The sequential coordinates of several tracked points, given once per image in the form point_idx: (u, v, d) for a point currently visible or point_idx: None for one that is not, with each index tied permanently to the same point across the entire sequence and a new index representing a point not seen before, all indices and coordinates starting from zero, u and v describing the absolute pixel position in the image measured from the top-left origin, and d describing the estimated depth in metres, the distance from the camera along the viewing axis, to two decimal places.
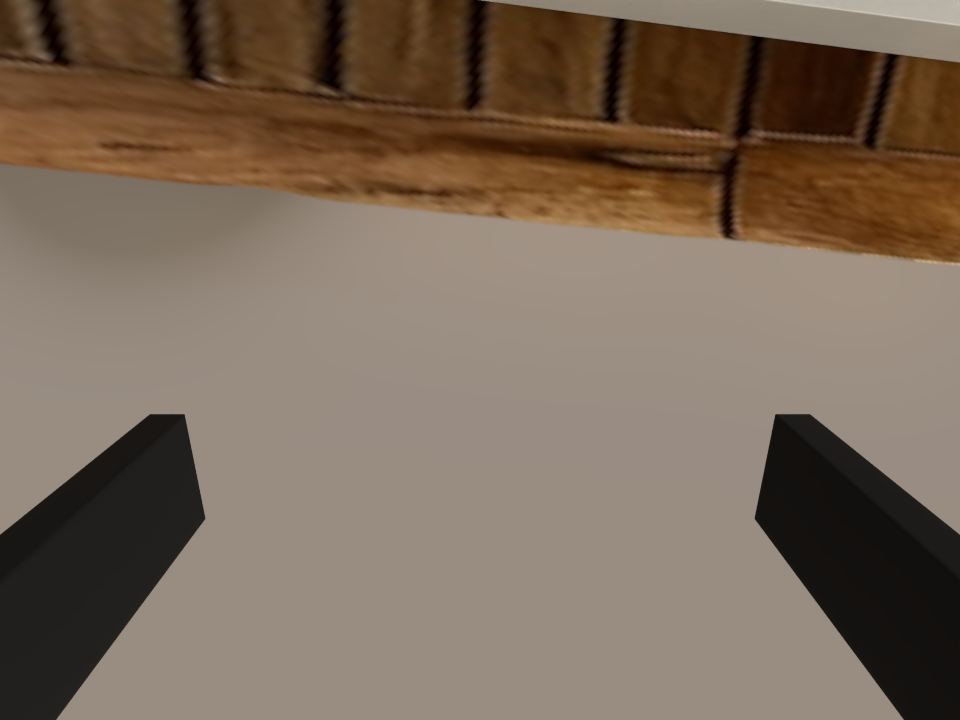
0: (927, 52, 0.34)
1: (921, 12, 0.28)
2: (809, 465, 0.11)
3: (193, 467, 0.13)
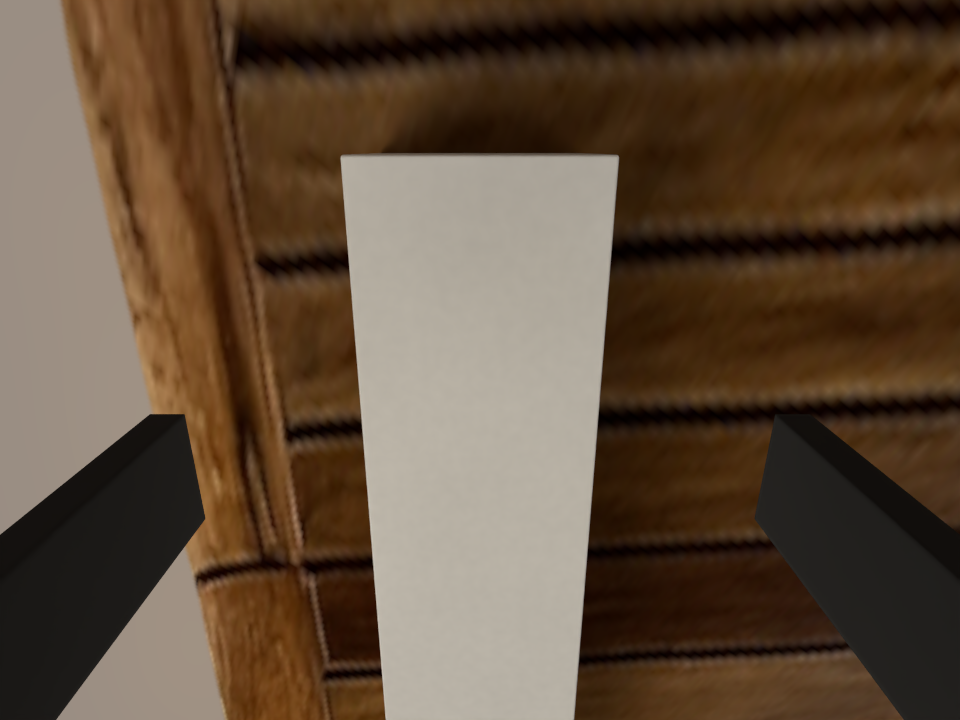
0: None
1: None
2: (808, 464, 0.11)
3: (192, 467, 0.13)
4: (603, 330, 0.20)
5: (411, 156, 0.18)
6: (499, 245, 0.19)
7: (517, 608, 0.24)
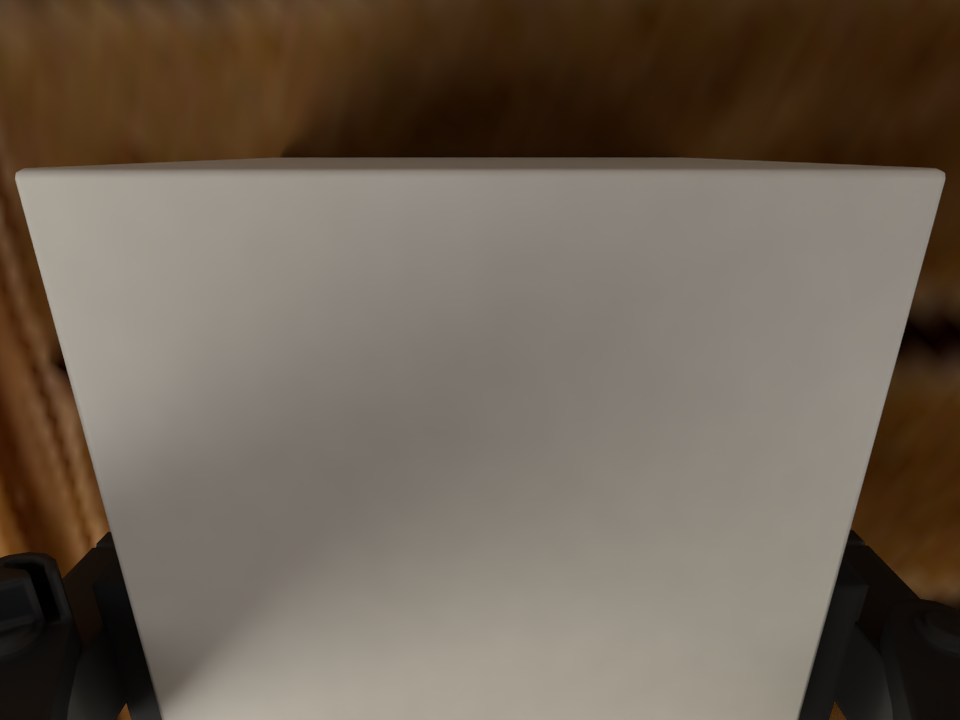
0: None
1: None
2: None
3: None
4: (816, 642, 0.07)
5: (251, 174, 0.05)
6: (540, 438, 0.06)
7: None
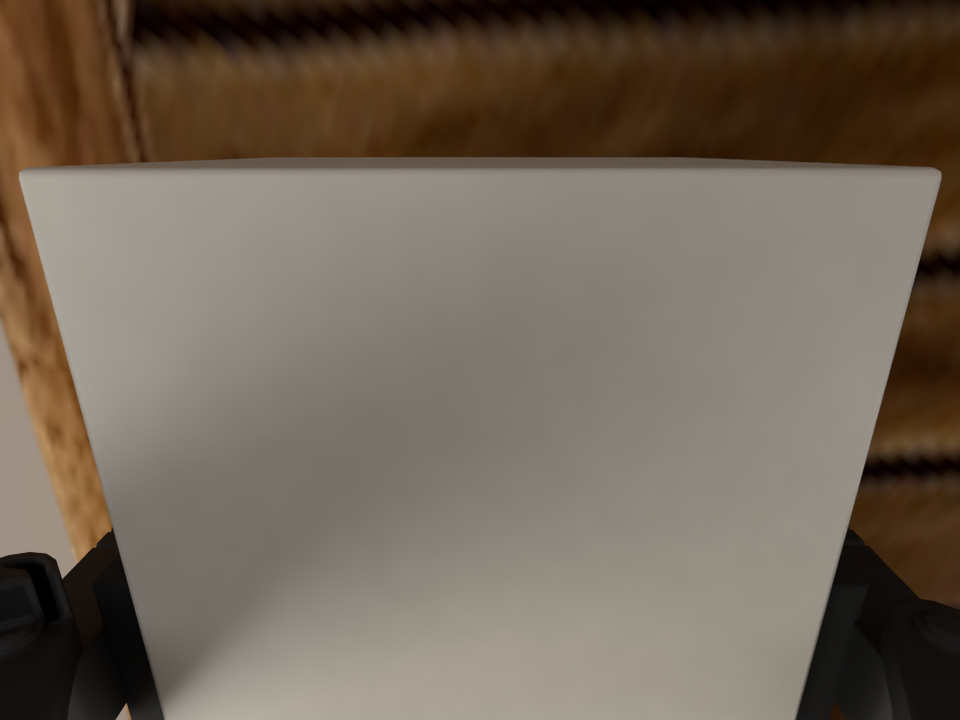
0: None
1: None
2: None
3: None
4: (814, 638, 0.07)
5: (253, 173, 0.05)
6: (540, 436, 0.06)
7: None
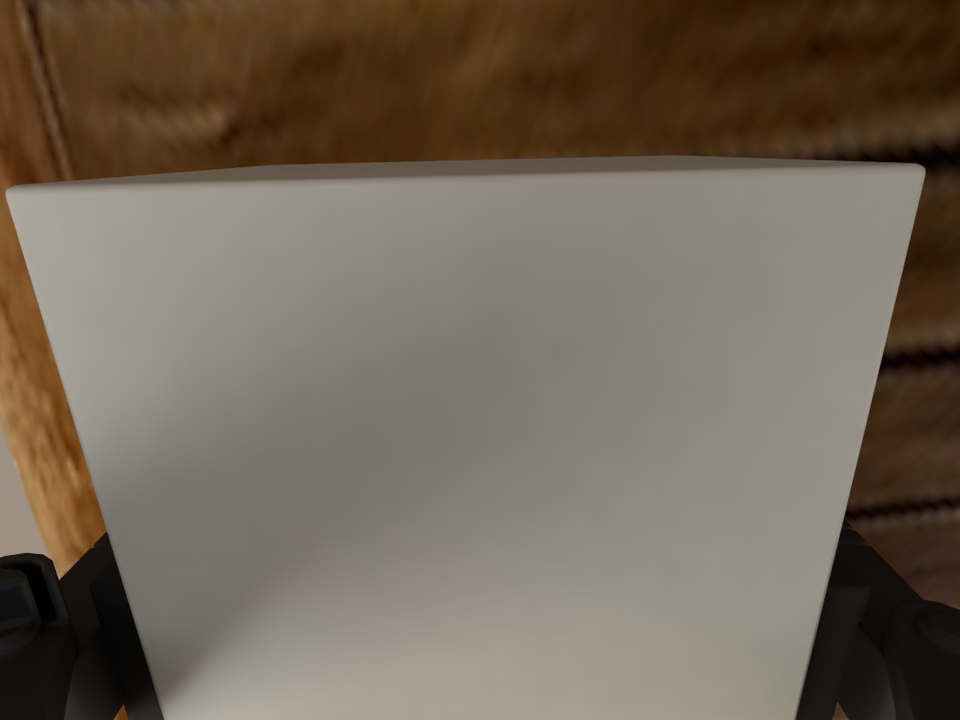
0: None
1: None
2: None
3: None
4: (812, 636, 0.07)
5: (236, 185, 0.05)
6: (530, 441, 0.06)
7: None
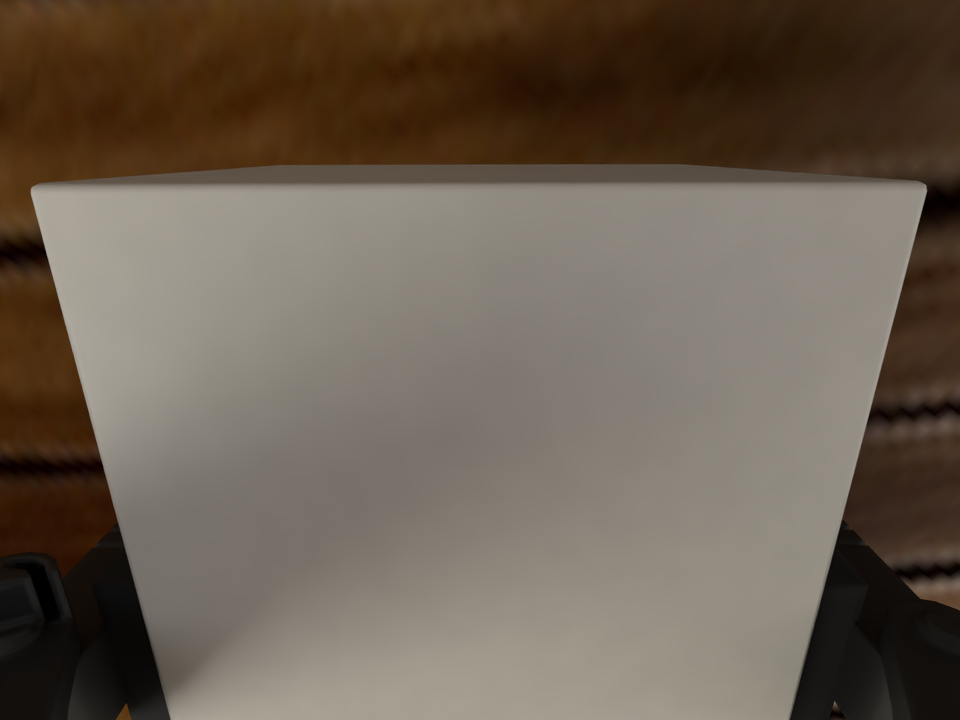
0: None
1: None
2: None
3: None
4: (807, 639, 0.07)
5: (257, 188, 0.06)
6: (537, 442, 0.06)
7: None
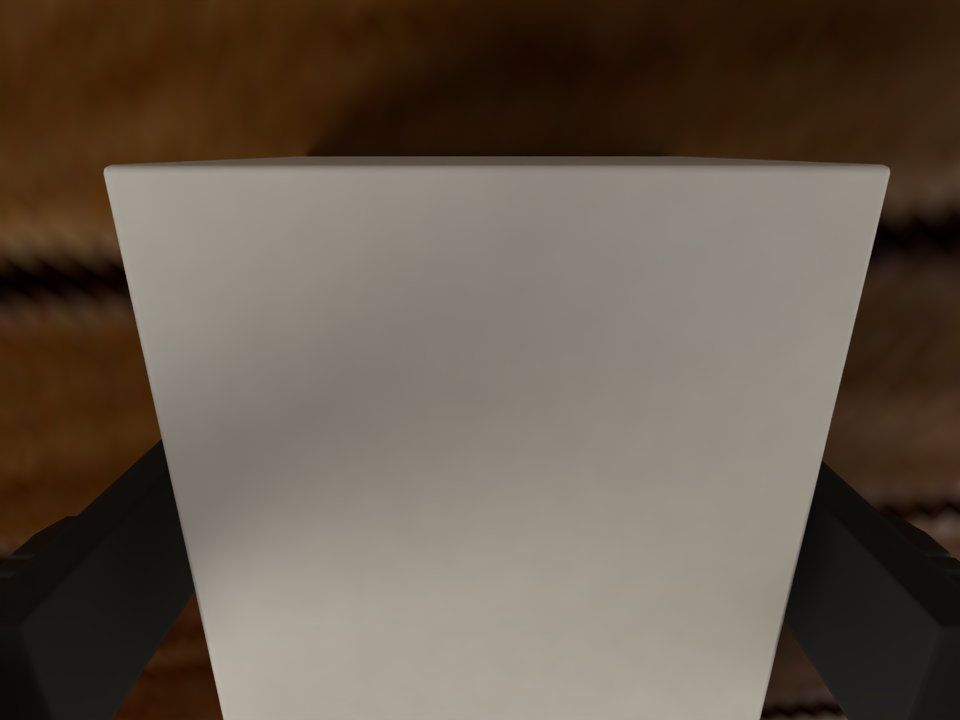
0: None
1: None
2: None
3: None
4: (789, 583, 0.08)
5: (303, 169, 0.06)
6: (547, 399, 0.07)
7: None
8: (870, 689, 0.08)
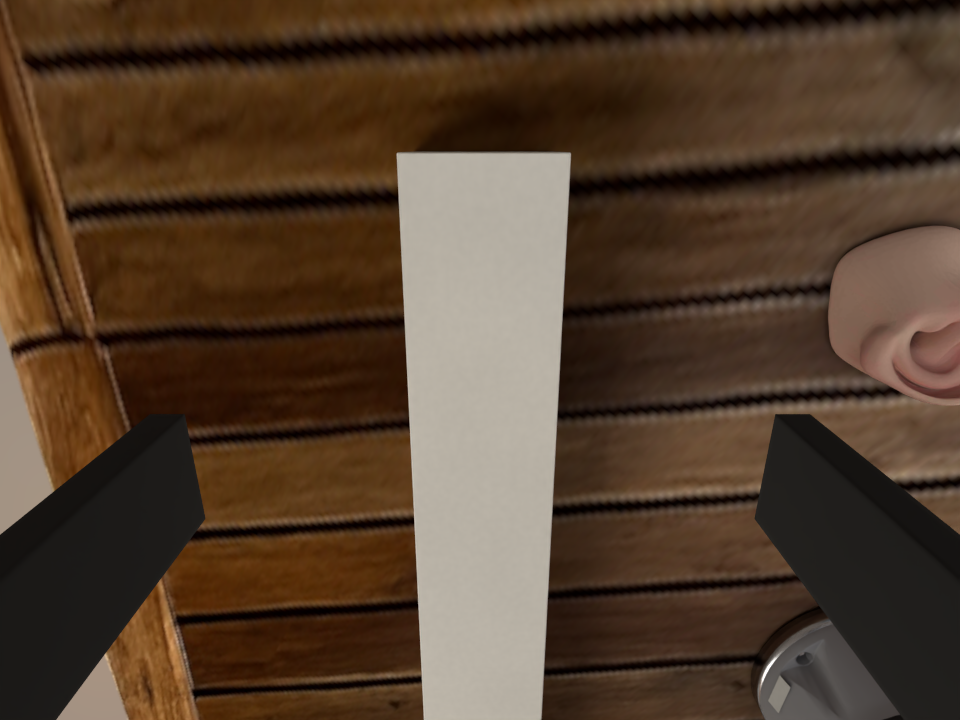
0: None
1: (422, 574, 0.38)
2: (808, 465, 0.11)
3: (192, 467, 0.13)
4: (563, 266, 0.31)
5: (441, 153, 0.29)
6: (496, 210, 0.30)
7: (509, 466, 0.35)
8: None
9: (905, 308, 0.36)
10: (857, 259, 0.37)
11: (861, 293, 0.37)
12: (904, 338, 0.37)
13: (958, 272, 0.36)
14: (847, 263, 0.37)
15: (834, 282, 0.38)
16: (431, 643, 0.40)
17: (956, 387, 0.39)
